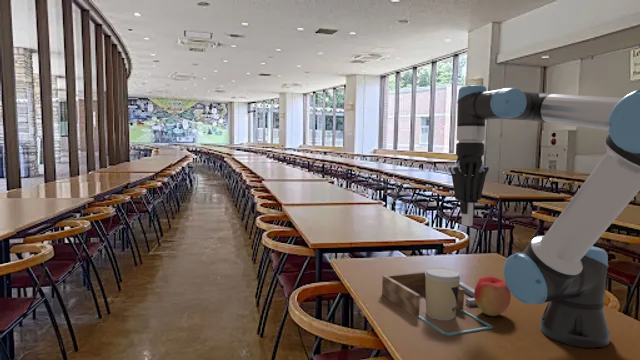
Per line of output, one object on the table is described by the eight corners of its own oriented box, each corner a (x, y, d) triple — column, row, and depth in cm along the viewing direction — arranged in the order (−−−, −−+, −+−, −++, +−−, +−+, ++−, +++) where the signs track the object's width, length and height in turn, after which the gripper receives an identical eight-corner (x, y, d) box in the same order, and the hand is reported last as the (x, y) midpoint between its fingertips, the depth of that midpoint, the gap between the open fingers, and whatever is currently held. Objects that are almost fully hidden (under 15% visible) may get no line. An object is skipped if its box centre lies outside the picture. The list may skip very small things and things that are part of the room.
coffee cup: (459, 323, 116) (462, 278, 115) (423, 319, 118) (425, 275, 117) (456, 310, 125) (459, 268, 124) (422, 306, 127) (425, 265, 126)
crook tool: (490, 305, 130) (490, 299, 130) (469, 306, 129) (469, 300, 128) (457, 285, 148) (458, 279, 147) (438, 286, 146) (439, 280, 146)
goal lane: (493, 328, 114) (493, 326, 114) (446, 336, 108) (446, 334, 108) (461, 310, 125) (461, 308, 125) (417, 316, 120) (417, 315, 120)
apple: (465, 309, 126) (467, 275, 125) (492, 306, 129) (494, 272, 128) (489, 323, 117) (492, 286, 116) (517, 319, 120) (520, 283, 119)
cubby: (463, 310, 126) (464, 289, 125) (415, 317, 120) (416, 295, 119) (425, 289, 142) (426, 271, 142) (381, 294, 136) (382, 275, 136)
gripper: (477, 142, 131) (474, 221, 132) (443, 141, 125) (440, 224, 127) (497, 142, 124) (494, 225, 126) (462, 141, 118) (458, 228, 120)
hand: (467, 225), depth 126 cm, fingers closed
